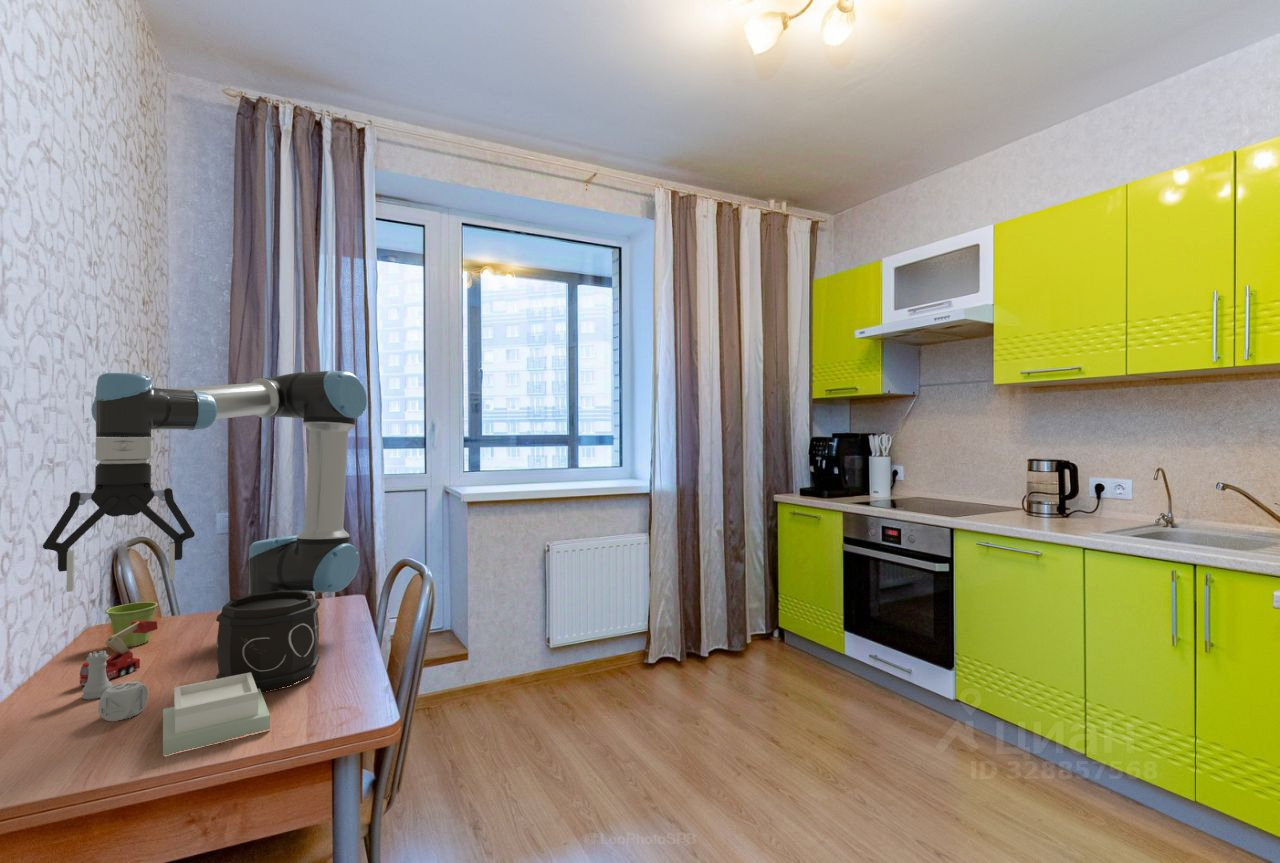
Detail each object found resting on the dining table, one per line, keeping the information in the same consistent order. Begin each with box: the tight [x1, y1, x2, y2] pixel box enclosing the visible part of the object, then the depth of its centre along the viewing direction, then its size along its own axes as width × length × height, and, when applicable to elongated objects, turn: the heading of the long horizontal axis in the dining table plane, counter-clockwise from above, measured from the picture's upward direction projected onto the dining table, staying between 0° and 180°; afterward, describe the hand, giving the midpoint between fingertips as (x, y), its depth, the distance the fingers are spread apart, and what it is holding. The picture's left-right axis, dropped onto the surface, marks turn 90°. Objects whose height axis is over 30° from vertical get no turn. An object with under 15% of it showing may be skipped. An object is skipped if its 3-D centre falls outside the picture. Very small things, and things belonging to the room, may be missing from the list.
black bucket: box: [215, 591, 321, 694], centre depth 126 cm, size 18×18×16 cm
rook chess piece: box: [81, 650, 113, 701], centre depth 118 cm, size 4×4×8 cm
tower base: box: [162, 672, 271, 757], centre depth 104 cm, size 14×14×7 cm
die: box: [98, 680, 149, 722], centre depth 109 cm, size 5×5×5 cm
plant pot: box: [105, 601, 158, 648], centre depth 148 cm, size 9×9×9 cm
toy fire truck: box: [79, 620, 158, 687], centre depth 128 cm, size 3×14×10 cm, turn 168°
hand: (122, 584), depth 110 cm, fingers open, 13 cm apart
